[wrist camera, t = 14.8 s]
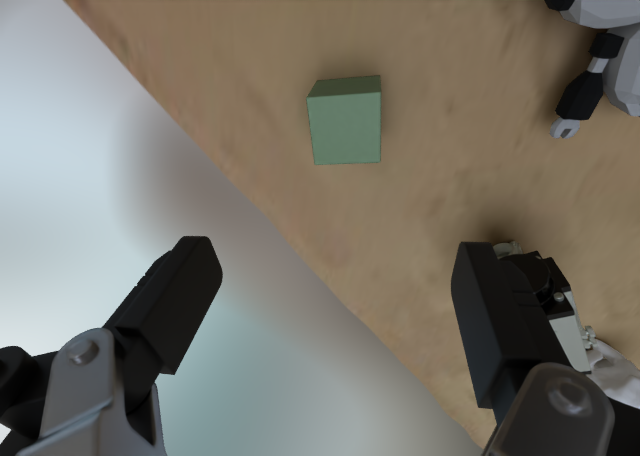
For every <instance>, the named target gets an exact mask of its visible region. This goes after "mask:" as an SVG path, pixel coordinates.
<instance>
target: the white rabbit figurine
mask: <svg viewBox="0 0 640 456" xmlns="http://www.w3.org/2000/svg"><path fill="white" fill-rule="evenodd" d="M595 340H596V342H597V344H598V346H597V347H593V346H592V345H591V346H592V348H593V350H589V351H586V353H587V357H588V360H589V364H590V367H591V370H592V374H589V375H586V376H587V377H589V378H590V379H591V380H593V381H594V382H595V383H596V384H597V385H598V386H599V387H600V388H601V389H602V390H603V392H604V393H605V394H606V396H608V397H610V398H612V399H614V400H617V401H619V402H622V403H624V404H627V405H630V406H633V407H635V408H638V409H640V371H639V370H638V369H637V367H636V366H635V365H634V364H633V363H632V362H631V361H629V360H627V359H626V358H625V357H624V356H623V355H622V354H621V353H620V352H619V351H617V350H615V349H613V348H612V347H611V346H609V345H607V344H606V343H604V342H602V341H600V340H598V339H595ZM603 357H605V358H606V359H605V358H603Z"/></svg>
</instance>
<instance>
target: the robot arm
mask: <svg viewBox="0 0 640 456" xmlns="http://www.w3.org/2000/svg"><path fill="white" fill-rule="evenodd" d="M222 275H223V274H222V268H221V265H220V263H219V260H218V258H217V255H216V253H215V251H214V248H213V246H212V243H211V241H210V239H209V238H208V237H205V236H184V237H182V238H181V239H180V240H179V241H178V243H177V244H176V245H175V247H174V248H173V249H172V250H171V251H168V252H167V253H165V254H164V255H163V256H161V257H160V258H159V259H157V260H156V261H155V262H154V263H153V264H152V266H151V267H150V268H149V269H148V271H147V272H146V273H145V276H143V277H142V278H141V279H140V281H139V282H138V283H137V286H135V287H134V288H133V289H132V291H131V292H130V293H129V295H128V296H127V297H126V298H125V299H124V301H123V302H122V303H121V305H120V306H119V307H118V308H117V309H116V311H115V312H114V313H113V315H112V316H111V317H110V318H109V320H108V321H107V322H106V323H105V325H104V326H103V327H102V328H94V329H90V330H87V331H85V332H83V333H81V334H79V335H77V336H75V337H74V338H72V339H71V340H70V341H68V342H67V343H66V344H65V345H64V346H63V347H62V348H61V349H60V350H59V351H55V352H50V353H46V354H42V355H37V356H33V357H32V356H31V355H29V354H28V353H27V352H26V351H24V350H23V349H22V348H21V347H18V346H8V347H5V348H1V349H0V423H1V424H3V425H4V426H6V427H8V428H10V429H11V431H10V433H9V434H8V435H7V436H6V438H5V439H4V440H3V442H2V443H1V444H0V456H167V454H166V451H165V447H164V440H163V433H162V424H161V415H160V408H159V399H158V390H157V386H156V384H155V380H156V378H157V376H158V375H159V373H162V374H171V375H175V373H176V371H177V369H178V367H179V365H180V363H181V361H182V359H183V357H184V355H185V354H186V352H187V350H188V348H189V346H190V344H191V342H192V340H193V338H194V336H195V334H196V332H197V330H198V328H199V326H200V325H201V323H202V321H203V319H204V317H205V315H206V313H207V311H208V309H209V307H210V305H211V303H212V301H213V299H214V297H215V295H216V294H217V292H218V290H219V288H220V286H221V283H222V277H223V276H222ZM451 294H452V300H453V304H454V308H455V312H456V317H457V321H458V325H459V329H460V333H461V338H462V342H463V346H464V350H465V354H466V359H467V363H468V367H469V371H470V375H471V380H472V384H473V388H474V392H475V396H476V400H477V405H478V408H487V409H493V411H494V415H495V419H496V422H497V425H496V427H495V429H494V431H493V433H492V435H491V437H490V438H489V440H488V442H487V444H486V446H485V448H484V450H483V452H482V454H481V456H640V409H638V408H635V407H633V406H630V405H627V404H624V403H622V402H619V401H617V400H614V399H612V398H610V397H608V396H606V394H605V393H604V392H603V390H602V389H601V388H600V387H599V386H598V385H597V384H596V383H595V382H594V381H593V380H591V379H590V378H589V377H587V376H586V375H584V374H583V373H581V372H580V371H578V370H576V369H574V368H573V366H572V365H571V363H570V361H569V359H568V357H567V355H566V354H565V352H564V350H563V348H562V346H561V344H560V342H559V340H558V338H557V336H556V334H555V332H554V330H553V328H552V326H551V324H550V322H549V320H548V318H547V316H546V314H545V312H544V310H543V308H542V307H540V302H539V300H538V298H537V297H536V295H535V294H534V293H533V289H532V287H531V285H530V283H529V281H528V279H527V277H526V275H525V274H524V273H523V272H522V271H521V270H520V269H519V268H518V267H517V266H516V265H514V264H513V263H512V262H511V261H505V260H498V258H497V255H496V253H495V251H494V249H493V246H492V244H491V243H490V242H461V243H460V244H459V248H458V252H457V256H456V261H455V265H454V269H453V274H452V278H451Z"/></svg>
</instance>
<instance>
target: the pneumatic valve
mask: <svg viewBox="0 0 640 456" xmlns="http://www.w3.org/2000/svg"><path fill="white" fill-rule="evenodd" d="M493 249H494V251H495V253H496V255H497V258H498V260H505V261H511V262H512V263H513V264H514V265H516V266H517V267H518V268H519V269H520V270H521V271H522V272H523V273H524V274H525V275H526V277H527V279H528V281H529V283H530V285H531V287H532V289H533V293H534V294H535V295H536V297H537V298H538V300H539V302H540V307H542V308H543V310H544V312H545V314H546V316H547V318H548V320H549V322H550V324H551V326H552V328H553V330H554V332H555V334H556V336H557V338H558V340H559V342H560V344H561V346H562V348H563V350H564V352H565V354H566V355H567V357H568V359H569V361H570V363H571V365H572V366H573V368H574V369H576V370H578V371H580V372H581V373H583V374H584V375H589V374H592V370H591V367H590V364H589V360H588V357H587V353H586V351H587V350H588V348H590V344H591V345H592V346H593V347H597V346H598V344H597V342H596V340H595V338H594V337H595V336H596V335H595V333H594V331H593V329H592V327H591V326H585V329H586V330H584V328H583V327H582V326H581V322H580V319H579V315H578V312H577V308H576V305H575V301H574V298H573V294H572V291H571V287H570V284H569V283H568V281H567V280H566V278H565V277H564V275H563V274H562V272H561V271H560V269H559V268H558V266H557V265H556V263H555V262H554V260H553V258H552V257H549V258H545V259H542V257H541V256H540V254H539V252H538V251H534V252H530V253H527V254H523V252H522V249H521V247H520V244H519V243H518V242H515V241H512V242H510V244H509V243H499V244H496V245H494V246H493ZM587 335H589V336H587ZM587 338H588V339H589V340H587Z"/></svg>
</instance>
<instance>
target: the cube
mask: <svg viewBox="0 0 640 456" xmlns="http://www.w3.org/2000/svg"><path fill="white" fill-rule="evenodd" d="M306 101H307V108H308V116H309V124H310V132H311V140H312V148H313V156H314V164H315V165H325V164H353V163H379V162H380V161H381V80H380V75H377V76H365V77H353V78H342V79H330V80H318V81H317V82H316V83H315V85H314V86H313V88H312V90H311V91H310V93H309V94H308V96H307V97H306Z"/></svg>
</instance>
